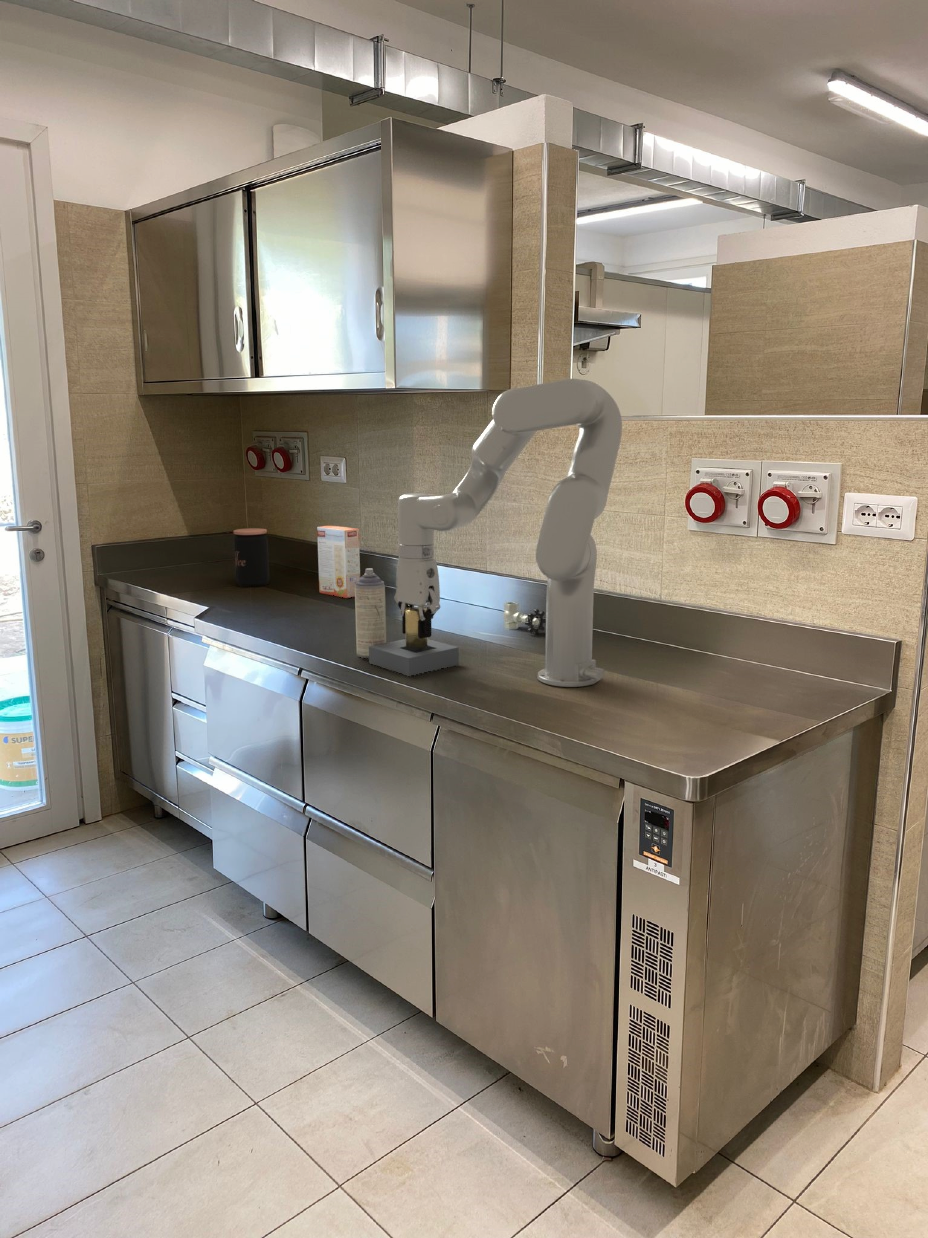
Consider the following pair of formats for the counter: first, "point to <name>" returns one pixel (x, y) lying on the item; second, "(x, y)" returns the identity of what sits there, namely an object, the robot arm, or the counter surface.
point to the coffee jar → (251, 557)
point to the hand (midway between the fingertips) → (416, 634)
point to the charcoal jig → (413, 656)
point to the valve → (522, 618)
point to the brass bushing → (413, 628)
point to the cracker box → (338, 560)
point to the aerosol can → (369, 612)
